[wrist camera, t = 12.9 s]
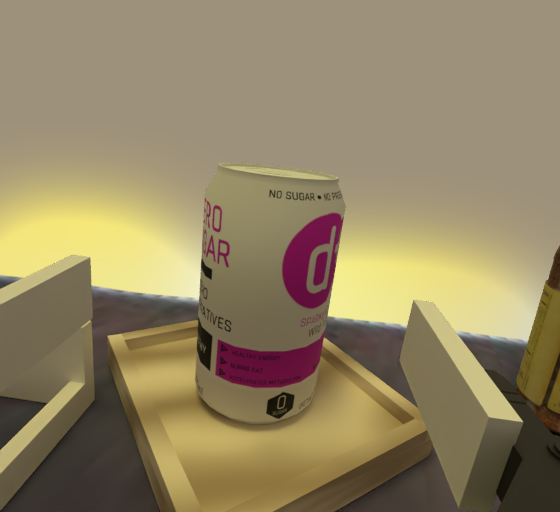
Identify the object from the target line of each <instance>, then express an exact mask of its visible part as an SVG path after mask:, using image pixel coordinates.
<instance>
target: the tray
mask: <svg viewBox="0 0 560 512" xmlns="http://www.w3.org/2000/svg"><path fill="white" fill-rule="evenodd" d="M197 334H198V320H196V321H190V322H185V323H179V324H173V325H168V326H162V327H156V328H151V329H145V330H139V331H134V332H128V333H123V334H117V335H111V336H108V365H109V367H110V370H111V373H112V376H113V379H114V382H115V384H116V387H117V390H118V393H119V396H120V399H121V401H122V404H123V407H124V410H125V413H126V416H127V418H128V421H129V424H130V427H131V430H132V433H133V436H134V438H135V441H136V444H137V447H138V450H139V453H140V455H141V458H142V461H143V464H144V467H145V470H146V472H147V475H148V478H149V481H150V484H151V487H152V490H153V492H154V495H155V498H156V501H157V504H158V507H159V509H160V512H335V511H337V510H338V509H340V508H342V507H343V506H345V505H347V504H348V503H350V502H352V501H354V500H355V499H357V498H359V497H360V496H362V495H364V494H365V493H367V492H369V491H370V490H372V489H374V488H376V487H377V486H379V485H381V484H382V483H384V482H386V481H387V480H389V479H391V478H393V477H394V476H396V475H398V474H399V473H401V472H403V471H404V470H406V469H408V468H409V467H411V466H413V465H415V464H416V463H418V462H420V461H421V460H423V459H425V458H426V457H428V456H430V452H431V449H432V445H433V443H432V441H431V438H430V436H429V433H428V431H427V428H426V426H425V423H424V421H423V418H422V416H421V413H420V411H419V409H418V408H417V407H416V406H414V405H413V404H412V403H410V402H409V401H408V400H406V399H405V398H404V397H402V396H401V395H400V394H398V393H397V392H396V391H394V390H393V389H392V388H390V387H389V386H388V385H386V384H385V383H384V382H382V381H381V380H380V379H379V378H377V377H376V376H375V375H373V374H372V373H371V372H369V371H368V370H367V369H365V368H364V367H363V366H361V365H360V364H359V363H357V362H356V361H355V360H353V359H352V358H351V357H349V356H348V355H347V354H345V353H344V352H343V351H341V350H340V349H339V348H337V347H336V346H335V345H334V344H332V343H331V342H330V341H328V340H327V339H326V338H324V340H323V346H322V352H321V358H320V364H319V370H318V376H317V382H316V388H315V392H314V395H313V397H312V399H311V402H310V404H309V405H308V406H306V407H305V408H304V409H303V410H301V411H300V412H299V413H297V414H296V415H293V416H291V417H289V418H288V419H285V420H282V421H278V422H275V423H272V424H253V425H251V424H247V423H242V422H238V421H233V420H231V419H229V418H227V417H225V416H223V415H221V414H220V413H218V412H216V411H215V410H214V409H213V408H211V407H209V405H208V404H207V403H206V402H205V401H204V400H203V399H202V398H201V396H200V395H199V394H198V391H197V387H196V382H195V371H196V353H197Z"/></svg>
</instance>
